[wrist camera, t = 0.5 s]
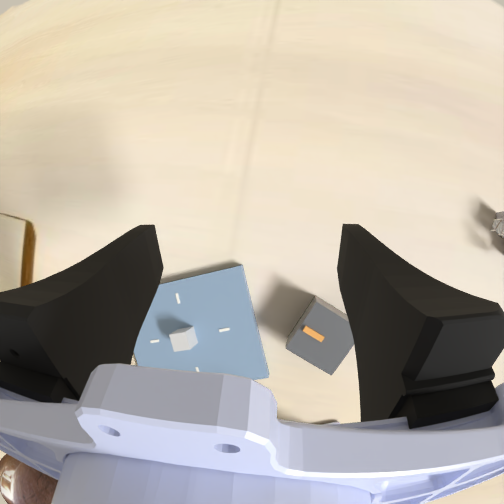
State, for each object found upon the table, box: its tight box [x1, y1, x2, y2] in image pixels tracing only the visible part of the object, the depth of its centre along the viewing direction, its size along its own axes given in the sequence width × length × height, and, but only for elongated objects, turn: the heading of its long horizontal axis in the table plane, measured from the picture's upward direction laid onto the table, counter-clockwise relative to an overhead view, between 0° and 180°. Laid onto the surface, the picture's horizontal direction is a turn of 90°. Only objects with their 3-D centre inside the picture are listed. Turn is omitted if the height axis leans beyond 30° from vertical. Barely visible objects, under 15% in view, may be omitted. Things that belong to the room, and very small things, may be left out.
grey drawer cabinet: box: [286, 296, 354, 375], centre depth 32 cm, size 6×6×4 cm
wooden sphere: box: [0, 454, 58, 504], centre depth 36 cm, size 15×15×15 cm
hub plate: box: [134, 265, 269, 380], centre depth 35 cm, size 13×16×4 cm
